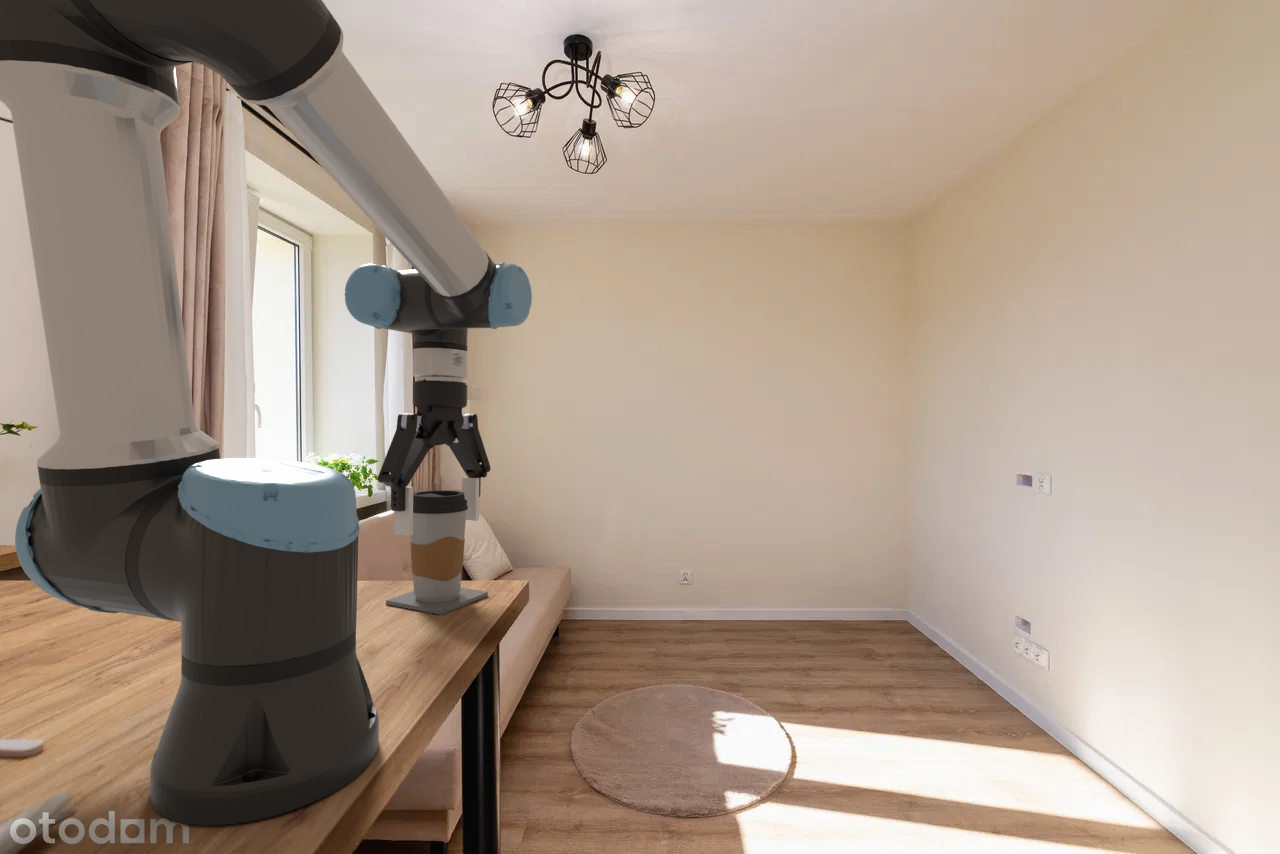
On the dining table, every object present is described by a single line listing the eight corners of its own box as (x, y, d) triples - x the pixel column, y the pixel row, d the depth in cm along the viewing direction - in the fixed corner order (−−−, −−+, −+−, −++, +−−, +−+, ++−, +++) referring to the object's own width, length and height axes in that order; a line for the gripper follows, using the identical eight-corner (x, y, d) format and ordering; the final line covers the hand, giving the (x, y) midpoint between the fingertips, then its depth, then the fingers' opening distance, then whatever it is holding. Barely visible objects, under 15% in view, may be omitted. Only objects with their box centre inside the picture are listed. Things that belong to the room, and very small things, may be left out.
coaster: (440, 615, 84) (440, 610, 84) (385, 604, 88) (385, 600, 88) (487, 595, 93) (487, 591, 93) (436, 587, 97) (436, 583, 97)
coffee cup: (453, 585, 96) (454, 488, 96) (476, 598, 90) (477, 494, 90) (398, 594, 91) (399, 492, 91) (418, 609, 85) (419, 499, 84)
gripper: (392, 374, 77) (390, 545, 78) (513, 384, 100) (512, 516, 100) (349, 375, 80) (348, 539, 81) (476, 384, 103) (475, 512, 103)
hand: (438, 526), depth 91 cm, fingers open, 13 cm apart
